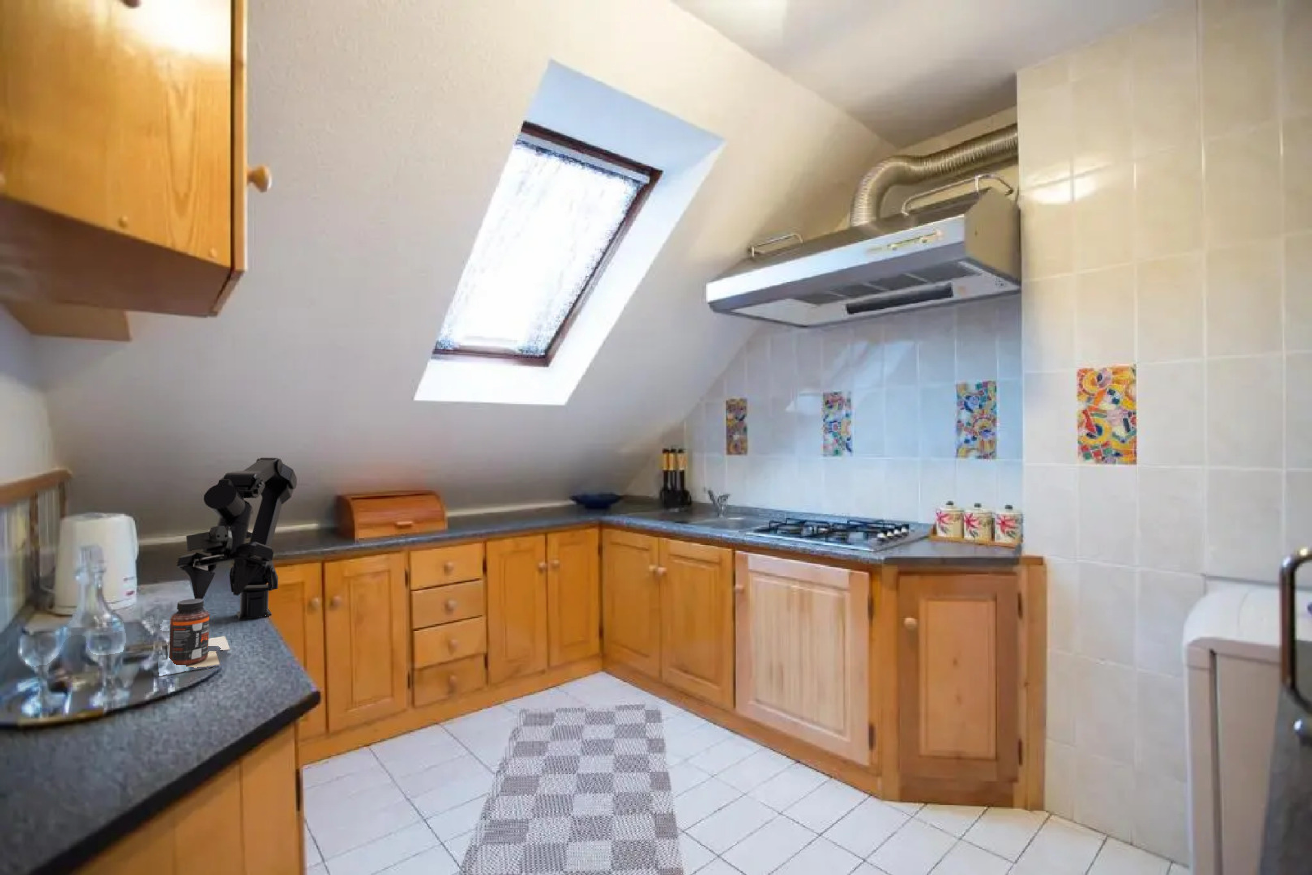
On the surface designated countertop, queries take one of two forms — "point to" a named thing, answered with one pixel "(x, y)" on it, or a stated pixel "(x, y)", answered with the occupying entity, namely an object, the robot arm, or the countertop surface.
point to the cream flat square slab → (219, 642)
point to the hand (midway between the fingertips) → (216, 598)
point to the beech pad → (207, 661)
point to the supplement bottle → (189, 633)
